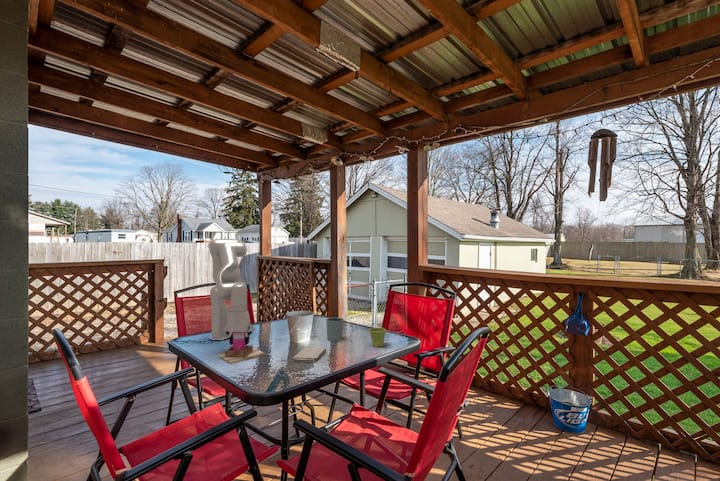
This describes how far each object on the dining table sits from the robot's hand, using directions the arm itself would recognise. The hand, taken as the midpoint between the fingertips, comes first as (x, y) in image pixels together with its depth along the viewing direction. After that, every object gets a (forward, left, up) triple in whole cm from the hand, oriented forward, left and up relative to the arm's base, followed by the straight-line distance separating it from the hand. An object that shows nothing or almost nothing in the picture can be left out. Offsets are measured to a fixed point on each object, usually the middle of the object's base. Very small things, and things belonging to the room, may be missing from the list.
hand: (239, 343), depth 170 cm
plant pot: (+37, +62, -6) cm, 72 cm away
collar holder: (0, 0, -6) cm, 6 cm away
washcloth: (+26, +25, -7) cm, 36 cm away
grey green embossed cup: (+11, +53, -6) cm, 55 cm away
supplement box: (0, 0, -5) cm, 5 cm away
